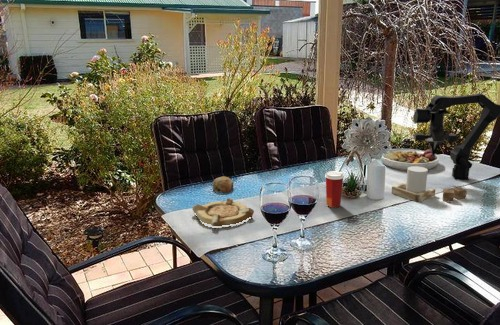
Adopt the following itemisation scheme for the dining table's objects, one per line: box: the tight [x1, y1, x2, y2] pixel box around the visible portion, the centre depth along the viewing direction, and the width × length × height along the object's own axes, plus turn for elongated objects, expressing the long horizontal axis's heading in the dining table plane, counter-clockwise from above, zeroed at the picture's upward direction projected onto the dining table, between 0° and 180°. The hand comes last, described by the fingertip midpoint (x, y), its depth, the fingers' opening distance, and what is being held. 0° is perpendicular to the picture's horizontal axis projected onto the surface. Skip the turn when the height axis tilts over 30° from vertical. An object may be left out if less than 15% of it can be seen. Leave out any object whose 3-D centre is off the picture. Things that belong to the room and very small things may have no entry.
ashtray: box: [192, 197, 255, 226], centre depth 169 cm, size 24×24×5 cm
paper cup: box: [324, 170, 345, 208], centre depth 176 cm, size 8×8×14 cm
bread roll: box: [212, 175, 234, 193], centre depth 200 cm, size 10×10×8 cm
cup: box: [405, 166, 429, 194], centre depth 186 cm, size 8×8×12 cm
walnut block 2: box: [451, 186, 468, 201], centre depth 183 cm, size 4×4×4 cm
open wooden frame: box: [391, 182, 436, 203], centre depth 188 cm, size 12×13×3 cm
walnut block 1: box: [442, 188, 455, 203], centre depth 181 cm, size 4×4×4 cm
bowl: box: [380, 148, 440, 171], centre depth 232 cm, size 30×30×8 cm
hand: (433, 154), depth 205 cm, fingers closed
